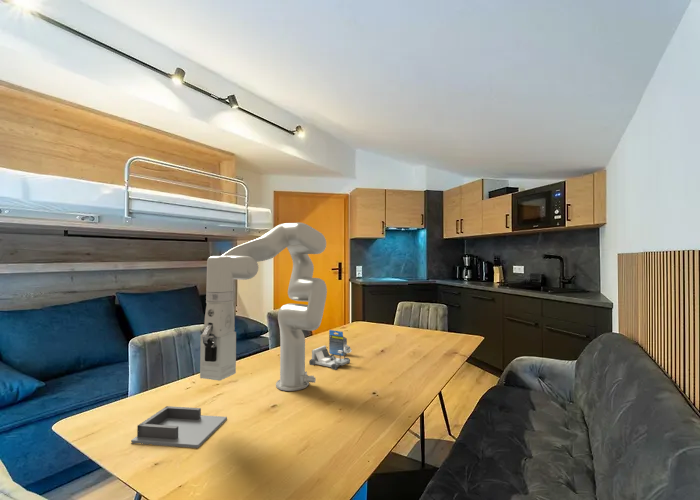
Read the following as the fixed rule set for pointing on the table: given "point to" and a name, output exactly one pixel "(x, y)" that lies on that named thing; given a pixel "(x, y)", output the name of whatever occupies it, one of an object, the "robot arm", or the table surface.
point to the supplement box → (219, 358)
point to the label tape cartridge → (336, 342)
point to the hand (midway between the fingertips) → (218, 356)
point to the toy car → (329, 357)
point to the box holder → (178, 427)
